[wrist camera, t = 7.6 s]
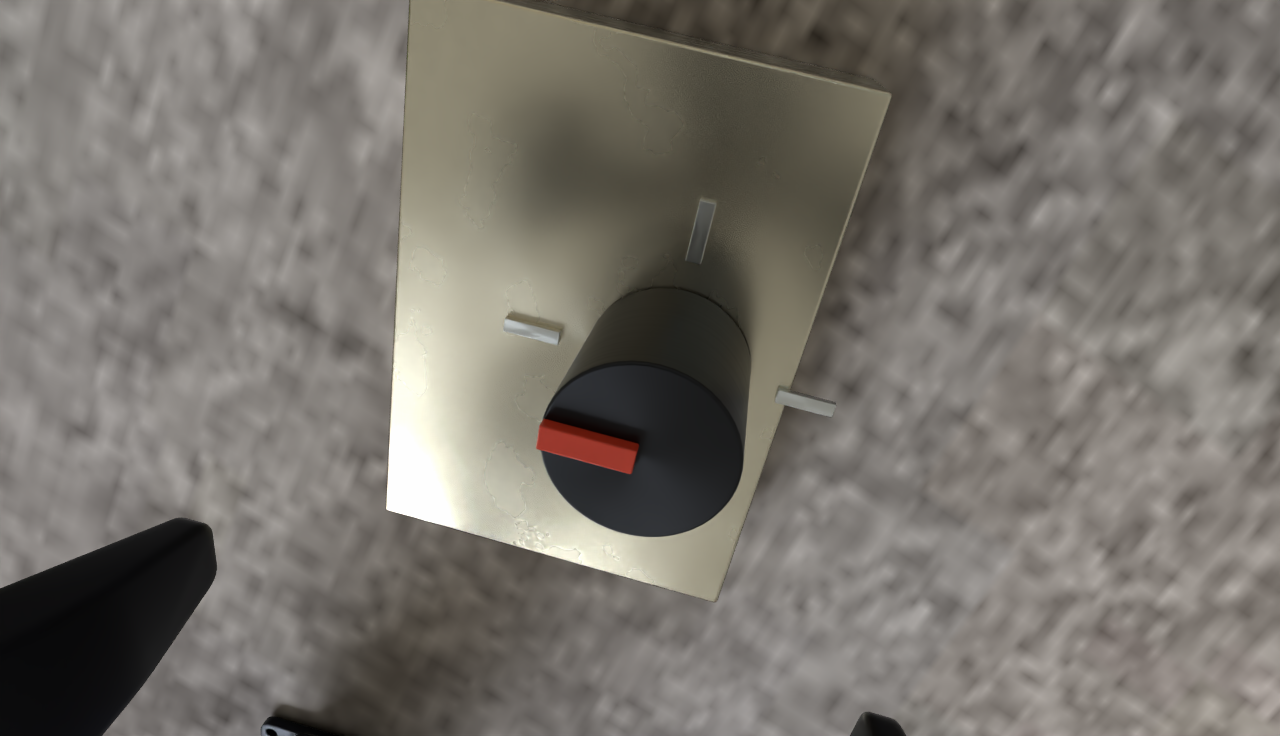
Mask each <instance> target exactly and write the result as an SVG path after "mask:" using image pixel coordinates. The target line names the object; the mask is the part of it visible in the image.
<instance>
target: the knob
mask: <svg viewBox="0 0 1280 736" xmlns="http://www.w3.org/2000/svg"><path fill="white" fill-rule="evenodd" d="M750 376H751V360H750V354H749V350H748V346H747V344H746V341H745V338H744V337H743V335H742V333H741V331H740V329H739V328H738V326H737V325H736V324H735V322H734V321H733V320H732V319H731V318H730V317H729V316H728V314H727V313H726V312H724V311H723V310H722V309H721V308H720V307H718V306H717V305H716V304H714V303H712V302H711V301H709V300H708V299H706V298H703V297H701V296H699V295H697V294H694V293H691V292H688V291H684V290H678V289H670V288H656V289H648V290H643V291H639V292H636V293H633V294H630V295H628V296H626V297H624V298H622V299H620V300H619V301H617V302H616V303H614V304H613V305H612V306H610V307H609V308H608V309H607V310H606V311H605V312H604V313H603V314H602V316H601V317H600V318H599V319H598V321H597V322H596V324H595V326H594V327H593V329H592V331H591V332H590V334H589V336H588V338H587V339H586V341H585V343H584V344H583V346H582V348H581V350H580V351H579V353H578V355H577V356H576V358H575V360H574V361H573V363H572V365H571V367H570V368H569V370H568V372H567V373H566V375H565V377H564V379H563V380H562V382H561V384H560V385H559V387H558V389H557V391H556V392H555V394H554V396H553V397H552V399H551V401H550V402H549V404H548V406H547V408H546V411H545V413H544V416H543V419H542V422H541V424H540V426H539V431H538V437H537V443H536V449H538V450H541V454H542V459H543V463H544V466H545V468H546V471H547V474H548V476H549V477H550V479H551V481H552V483H553V485H554V486H555V488H556V489H557V490H558V492H559V493H560V494H561V496H562V497H563V498H564V499H565V500H566V501H567V502H568V503H569V504H570V505H571V506H572V507H573V508H574V509H575V510H577V511H578V512H579V513H581V514H582V515H583V516H585V517H586V518H588V519H590V520H591V521H593V522H595V523H597V524H599V525H601V526H603V527H605V528H608V529H610V530H613V531H616V532H619V533H624V534H628V535H633V536H641V537H663V536H671V535H676V534H681V533H684V532H687V531H690V530H693V529H695V528H697V527H699V526H701V525H703V524H705V523H706V522H708V521H709V520H711V519H712V518H714V517H715V516H716V515H717V514H718V513H719V512H720V511H721V510H722V509H723V508H724V507H725V506H726V505H727V504H728V502H729V501H730V500H731V498H732V497H733V495H734V493H735V492H736V490H737V487H738V485H739V482H740V480H741V475H742V471H743V463H744V450H745V438H746V425H747V413H748V401H749V388H750Z"/></svg>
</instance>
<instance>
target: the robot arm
mask: <svg viewBox="0 0 1280 736" xmlns="http://www.w3.org/2000/svg"><path fill="white" fill-rule="evenodd" d="M216 571H217V562H216V555H215V548H214V540H213V533H212V530H211V528H210V527H209V526H208V525H207V524H205V523H202V522H198V521H194V520H191V519H187V518H176V519H172V520H170V521H167V522H165V523H162V524H160V525H157V526H155V527H152V528H150V529H147V530H145V531H142V532H140V533H137V534H135V535H132V536H130V537H127V538H125V539H122V540H120V541H117V542H115V543H112V544H110V545H107V546H105V547H102V548H100V549H97V550H95V551H92V552H90V553H87V554H85V555H82V556H80V557H77V558H75V559H72V560H70V561H67V562H65V563H63V564H60V565H58V566H55V567H53V568H50V569H48V570H45V571H43V572H40V573H38V574H35V575H33V576H30V577H28V578H25V579H23V580H20V581H18V582H15V583H13V584H10V585H8V586H5V587H3V588H0V736H102V735H103V734H104V733H105V731H106V730H107V729H108V728H109V727H110V725H111V724H112V723H113V722H114V720H115V719H116V718H117V717H118V716H119V714H120V713H121V712H122V711H123V710H124V708H125V707H126V706H127V705H128V703H129V702H130V701H131V700H132V698H133V697H134V696H135V695H136V693H137V692H138V691H139V690H140V688H141V687H142V686H143V684H144V683H145V682H146V680H147V679H148V678H149V676H150V675H151V673H152V672H153V671H154V669H155V668H156V666H157V665H158V663H159V662H160V660H161V659H162V657H163V656H164V654H165V653H166V651H167V650H168V649H169V647H170V646H171V644H172V643H173V641H174V640H175V638H176V637H177V635H178V634H179V632H180V631H181V629H182V628H183V626H184V625H185V623H186V622H187V620H188V619H189V617H190V616H191V615H192V613H193V612H194V610H195V609H196V607H197V606H198V604H199V603H200V601H201V600H202V598H203V597H204V595H205V594H206V592H207V591H208V589H209V588H210V586H211V585H212V583H213V581H214V579H215V575H216ZM261 736H337V735H334V734H330V733H327V732H324V731H320V730H317V729H314V728H311V727H307V726H304V725H301V724H297V723H294V722H291V721H287V720H284V719H281V718H278V717H269V718H268V719H267V720H266V721H265V722H264V724H263V725H262V727H261ZM850 736H906V735H905V733H904V731H903V729H902V728H901V726H900V725H899V724H898V722H897V721H895V720H894V719H892V718H889V717H886V716H882V715H879V714H875V713H871V712H865V713H863V714H862V715H861V716H860V718H859V719H858V721H857V723H856V725H855V727H854V729H853V731H852V733H851V735H850Z"/></svg>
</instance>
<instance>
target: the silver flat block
mask: <svg viewBox="0 0 1280 736" xmlns="http://www.w3.org/2000/svg"><path fill="white" fill-rule="evenodd" d="M891 99H892V93H891V92H890V91H888V90H887V89H886V88H884V87H883V86H882V85H880V84H879V83H878V82H876V81H875V80H874V79H871V78H867V77H863V76H858V75H854V74H850V73H846V72H841V71H837V70H833V69H829V68H824V67H820V66H816V65H811V64H807V63H803V62H799V61H794V60H790V59H786V58H782V57H777V56H773V55H769V54H764V53H760V52H756V51H752V50H747V49H743V48H739V47H735V46H730V45H726V44H722V43H718V42H713V41H709V40H705V39H700V38H696V37H692V36H688V35H683V34H679V33H675V32H671V31H666V30H662V29H658V28H654V27H649V26H645V25H641V24H636V23H632V22H628V21H624V20H619V19H615V18H611V17H607V16H602V15H598V14H594V13H590V12H585V11H581V10H577V9H572V8H568V7H564V6H560V5H555V4H551V3H547V2H543V1H538V0H409V20H408V41H407V62H406V84H405V105H404V127H403V148H402V169H401V191H400V212H399V233H398V255H397V276H396V298H395V319H394V340H393V362H392V383H391V405H390V426H389V447H388V469H387V490H386V510H388V511H391V512H395V513H399V514H402V515H406V516H409V517H413V518H416V519H420V520H423V521H427V522H430V523H434V524H438V525H441V526H445V527H448V528H452V529H455V530H459V531H462V532H466V533H469V534H473V535H477V536H480V537H484V538H487V539H491V540H494V541H498V542H501V543H505V544H508V545H512V546H516V547H519V548H523V549H526V550H530V551H533V552H537V553H540V554H544V555H547V556H551V557H555V558H558V559H562V560H565V561H569V562H572V563H576V564H579V565H583V566H586V567H590V568H594V569H597V570H601V571H604V572H608V573H611V574H615V575H618V576H622V577H625V578H629V579H633V580H636V581H640V582H643V583H647V584H650V585H654V586H657V587H661V588H664V589H668V590H672V591H675V592H679V593H682V594H686V595H689V596H693V597H696V598H700V599H703V600H707V601H711V602H716V601H717V600H718V597H719V594H720V592H721V589H722V586H723V583H724V580H725V577H726V574H727V571H728V569H729V566H730V563H731V560H732V557H733V554H734V551H735V548H736V546H737V543H738V540H739V537H740V534H741V531H742V528H743V525H744V522H745V520H746V517H747V514H748V511H749V508H750V505H751V502H752V499H753V497H754V494H755V491H756V488H757V485H758V482H759V479H760V476H761V474H762V471H763V468H764V465H765V462H766V459H767V456H768V453H769V450H770V448H771V445H772V442H773V439H774V436H775V433H776V430H777V427H778V425H779V422H780V419H781V416H782V413H783V410H784V407H785V405H786V406H790V407H794V408H797V409H801V410H805V411H809V412H812V413H816V414H820V415H824V416H828V417H832V416H833V414H834V411H835V408H836V406H837V405H836V402H833V401H829V400H825V399H822V398H818V397H814V396H810V395H806V394H803V393H799V392H795V391H791V387H792V384H793V381H794V379H795V376H796V373H797V370H798V367H799V364H800V361H801V358H802V355H803V353H804V350H805V347H806V344H807V341H808V338H809V335H810V332H811V330H812V327H813V324H814V321H815V318H816V315H817V312H818V309H819V307H820V304H821V301H822V298H823V295H824V292H825V289H826V286H827V283H828V281H829V278H830V275H831V272H832V269H833V266H834V263H835V260H836V258H837V255H838V252H839V249H840V246H841V243H842V240H843V237H844V235H845V232H846V229H847V226H848V223H849V220H850V217H851V214H852V212H853V209H854V206H855V203H856V200H857V197H858V194H859V191H860V188H861V186H862V183H863V180H864V177H865V174H866V171H867V168H868V165H869V163H870V160H871V157H872V154H873V151H874V148H875V145H876V142H877V140H878V137H879V134H880V131H881V128H882V125H883V122H884V119H885V116H886V114H887V111H888V108H889V105H890V102H891ZM656 288H670V289H678V290H684V291H688V292H691V293H694V294H697V295H699V296H701V297H703V298H706V299H708V300H709V301H711V302H712V303H714V304H716V305H717V306H718V307H720V308H721V309H722V310H723V311H724V312H726V313H727V314H728V316H729V317H730V318H731V319H732V320H733V321H734V322H735V324H736V325H737V326H738V328H739V329H740V331H741V333H742V335H743V337H744V338H745V341H746V344H747V346H748V350H749V354H750V360H751V376H750V388H749V401H748V413H747V425H746V438H745V450H744V463H743V471H742V475H741V480H740V482H739V485H738V487H737V490H736V492H735V493H734V495H733V497H732V498H731V500H730V501H729V502H728V504H727V505H726V506H725V507H724V508H723V509H722V510H721V511H720V512H719V513H718V514H717V515H716V516H715V517H714V518H712V519H711V520H709V521H708V522H706V523H705V524H703V525H701V526H699V527H697V528H695V529H693V530H690V531H687V532H684V533H681V534H676V535H671V536H663V537H641V536H633V535H628V534H624V533H619V532H616V531H613V530H610V529H608V528H605V527H603V526H601V525H599V524H597V523H595V522H593V521H591V520H590V519H588V518H586V517H585V516H583V515H582V514H581V513H579V512H578V511H577V510H575V509H574V508H573V507H572V506H571V505H570V504H569V503H568V502H567V501H566V500H565V499H564V498H563V497H562V496H561V494H560V493H559V492H558V490H557V489H556V488H555V486H554V485H553V483H552V481H551V479H550V477H549V476H548V474H547V471H546V468H545V466H544V463H543V459H542V454H541V450H538V449H536V443H537V437H538V431H539V426H540V424H541V422H542V419H543V416H544V413H545V411H546V408H547V406H548V404H549V402H550V401H551V399H552V397H553V396H554V394H555V392H556V391H557V389H558V387H559V385H560V384H561V382H562V380H563V379H564V377H565V375H566V373H567V372H568V370H569V368H570V367H571V365H572V363H573V361H574V360H575V358H576V356H577V355H578V353H579V351H580V350H581V348H582V346H583V344H584V343H585V341H586V339H587V338H588V336H589V334H590V332H591V331H592V329H593V327H594V326H595V324H596V322H597V321H598V319H599V318H600V317H601V316H602V314H603V313H604V312H605V311H606V310H607V309H608V308H609V307H610V306H612V305H613V304H614V303H616V302H617V301H619V300H620V299H622V298H624V297H626V296H628V295H630V294H633V293H636V292H639V291H643V290H648V289H656Z"/></svg>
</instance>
